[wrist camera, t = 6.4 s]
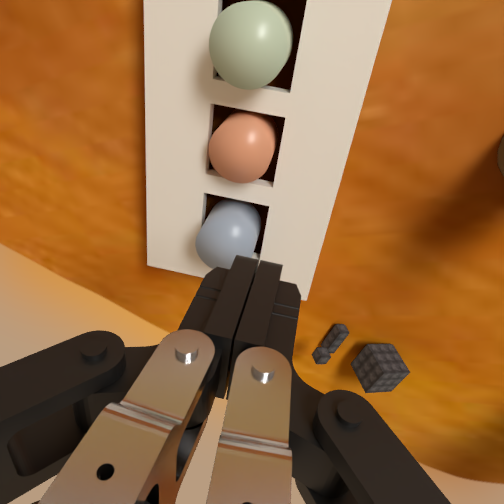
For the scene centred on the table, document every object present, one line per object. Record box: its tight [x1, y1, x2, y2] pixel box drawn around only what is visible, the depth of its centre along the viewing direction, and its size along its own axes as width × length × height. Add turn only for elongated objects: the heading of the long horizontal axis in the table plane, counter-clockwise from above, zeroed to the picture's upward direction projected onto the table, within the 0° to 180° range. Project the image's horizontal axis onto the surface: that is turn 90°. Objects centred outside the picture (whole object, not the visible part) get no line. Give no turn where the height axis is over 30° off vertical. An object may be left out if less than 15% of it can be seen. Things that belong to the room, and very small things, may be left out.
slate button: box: [195, 198, 261, 269], centre depth 30 cm, size 4×4×4 cm
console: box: [144, 0, 392, 301], centre depth 29 cm, size 14×24×3 cm, turn 172°
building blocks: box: [312, 324, 410, 393], centre depth 38 cm, size 3×6×8 cm
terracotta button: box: [209, 109, 278, 183], centre depth 28 cm, size 4×4×4 cm
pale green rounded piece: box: [209, 0, 293, 90], centre depth 23 cm, size 4×4×4 cm
